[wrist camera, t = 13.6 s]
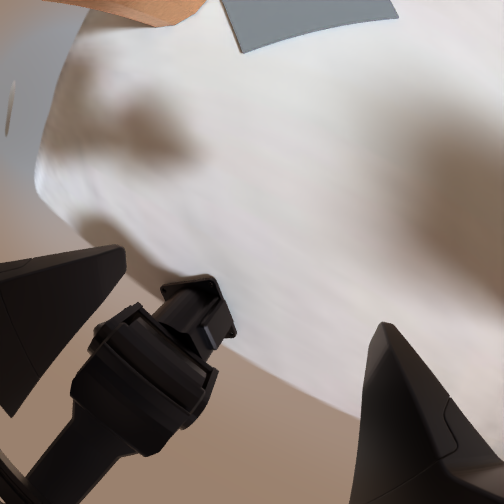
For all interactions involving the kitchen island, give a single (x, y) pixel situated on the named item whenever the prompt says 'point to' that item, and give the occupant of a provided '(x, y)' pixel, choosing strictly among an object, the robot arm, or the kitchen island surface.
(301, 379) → the kitchen island surface
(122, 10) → the brown tapered cup
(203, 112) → the kitchen island surface
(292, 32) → the slate mat
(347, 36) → the kitchen island surface
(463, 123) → the kitchen island surface
